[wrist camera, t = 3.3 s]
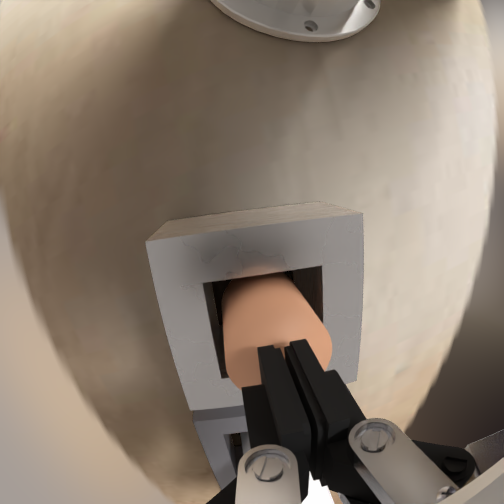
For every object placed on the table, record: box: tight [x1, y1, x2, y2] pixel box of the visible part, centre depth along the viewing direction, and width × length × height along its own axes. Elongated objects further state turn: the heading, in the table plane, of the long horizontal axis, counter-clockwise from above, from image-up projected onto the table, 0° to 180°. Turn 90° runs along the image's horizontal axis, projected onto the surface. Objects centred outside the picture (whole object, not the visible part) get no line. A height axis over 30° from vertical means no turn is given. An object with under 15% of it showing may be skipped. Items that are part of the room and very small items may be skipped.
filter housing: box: [193, 384, 350, 490], centre depth 19 cm, size 10×10×4 cm
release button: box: [222, 272, 332, 391], centre depth 13 cm, size 4×4×5 cm
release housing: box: [145, 202, 364, 411], centre depth 15 cm, size 9×9×6 cm
